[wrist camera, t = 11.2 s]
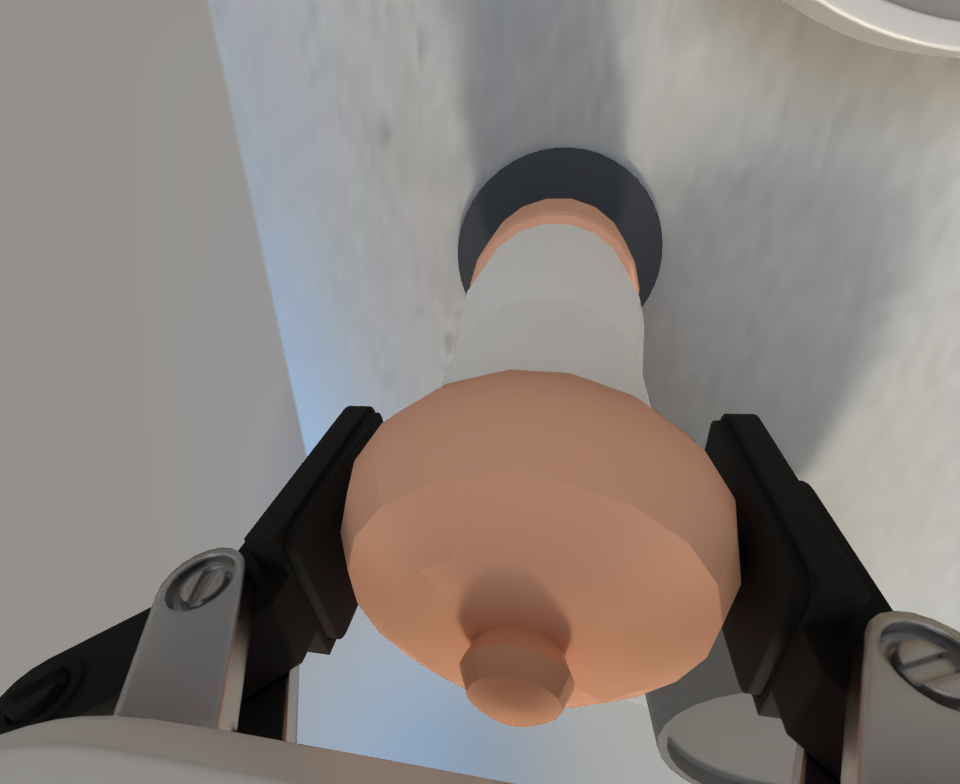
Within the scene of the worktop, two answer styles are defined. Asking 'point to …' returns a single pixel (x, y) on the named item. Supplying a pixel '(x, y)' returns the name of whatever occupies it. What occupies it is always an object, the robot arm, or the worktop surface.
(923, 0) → the bowl
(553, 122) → the worktop surface
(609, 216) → the coaster
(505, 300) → the salt shaker
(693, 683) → the reusable coffee cup
